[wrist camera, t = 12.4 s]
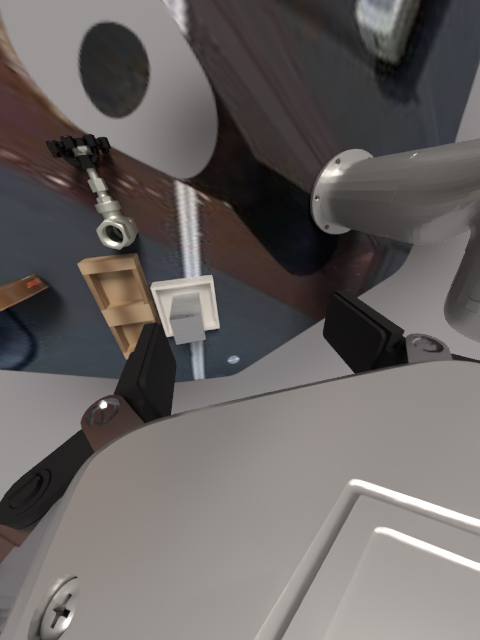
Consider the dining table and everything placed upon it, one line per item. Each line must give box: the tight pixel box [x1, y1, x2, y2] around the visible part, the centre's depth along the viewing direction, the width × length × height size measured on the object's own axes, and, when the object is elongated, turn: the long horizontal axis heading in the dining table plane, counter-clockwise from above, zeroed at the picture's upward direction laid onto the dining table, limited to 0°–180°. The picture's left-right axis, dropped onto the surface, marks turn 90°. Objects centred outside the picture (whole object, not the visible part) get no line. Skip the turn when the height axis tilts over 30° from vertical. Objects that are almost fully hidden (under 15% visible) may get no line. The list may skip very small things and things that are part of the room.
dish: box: [151, 275, 220, 337], centre depth 40 cm, size 11×11×2 cm
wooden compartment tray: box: [77, 253, 161, 359], centre depth 38 cm, size 8×20×3 cm, turn 3°
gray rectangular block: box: [169, 292, 206, 345], centre depth 37 cm, size 5×5×9 cm
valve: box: [46, 134, 138, 250], centre depth 27 cm, size 7×7×12 cm
